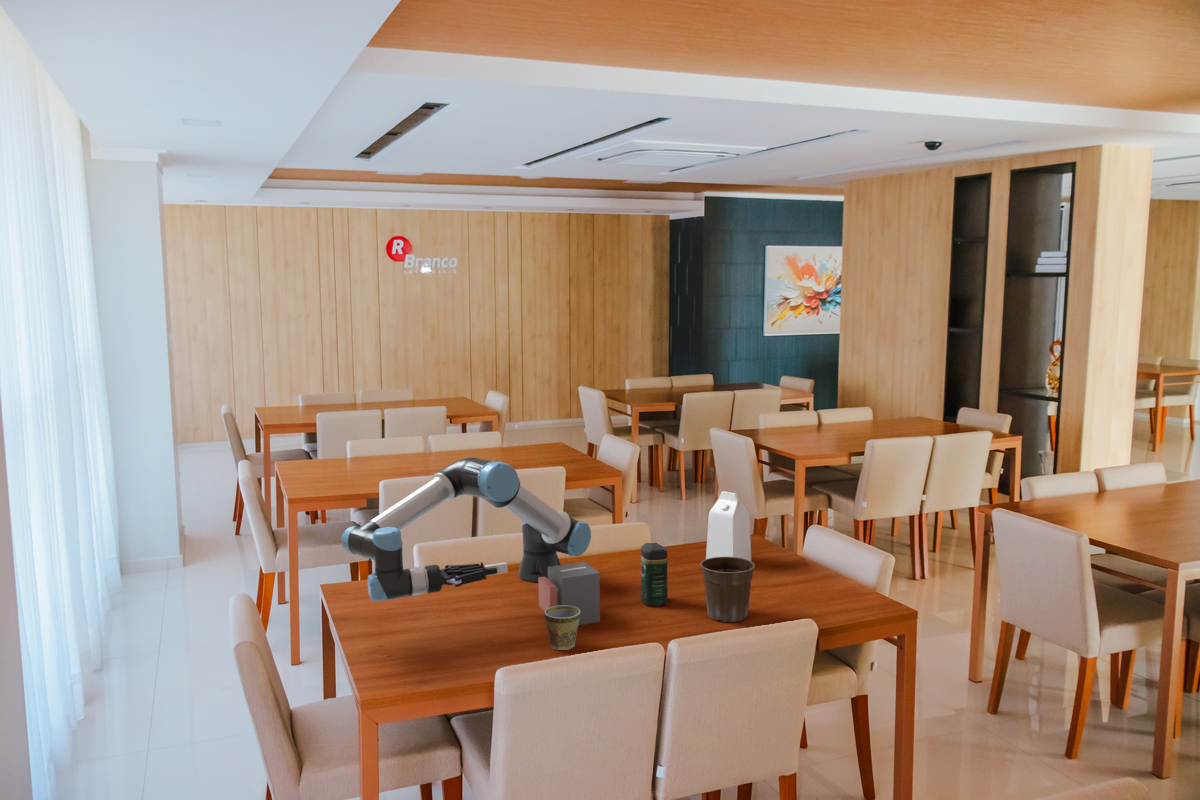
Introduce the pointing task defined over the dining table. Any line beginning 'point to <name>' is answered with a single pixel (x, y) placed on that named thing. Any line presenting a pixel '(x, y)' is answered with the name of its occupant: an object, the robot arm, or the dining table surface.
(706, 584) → the plant pot
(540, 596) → the pink piece
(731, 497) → the milk
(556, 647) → the ceramic cup
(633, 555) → the dining table surface
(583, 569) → the press housing
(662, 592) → the coffee jar
